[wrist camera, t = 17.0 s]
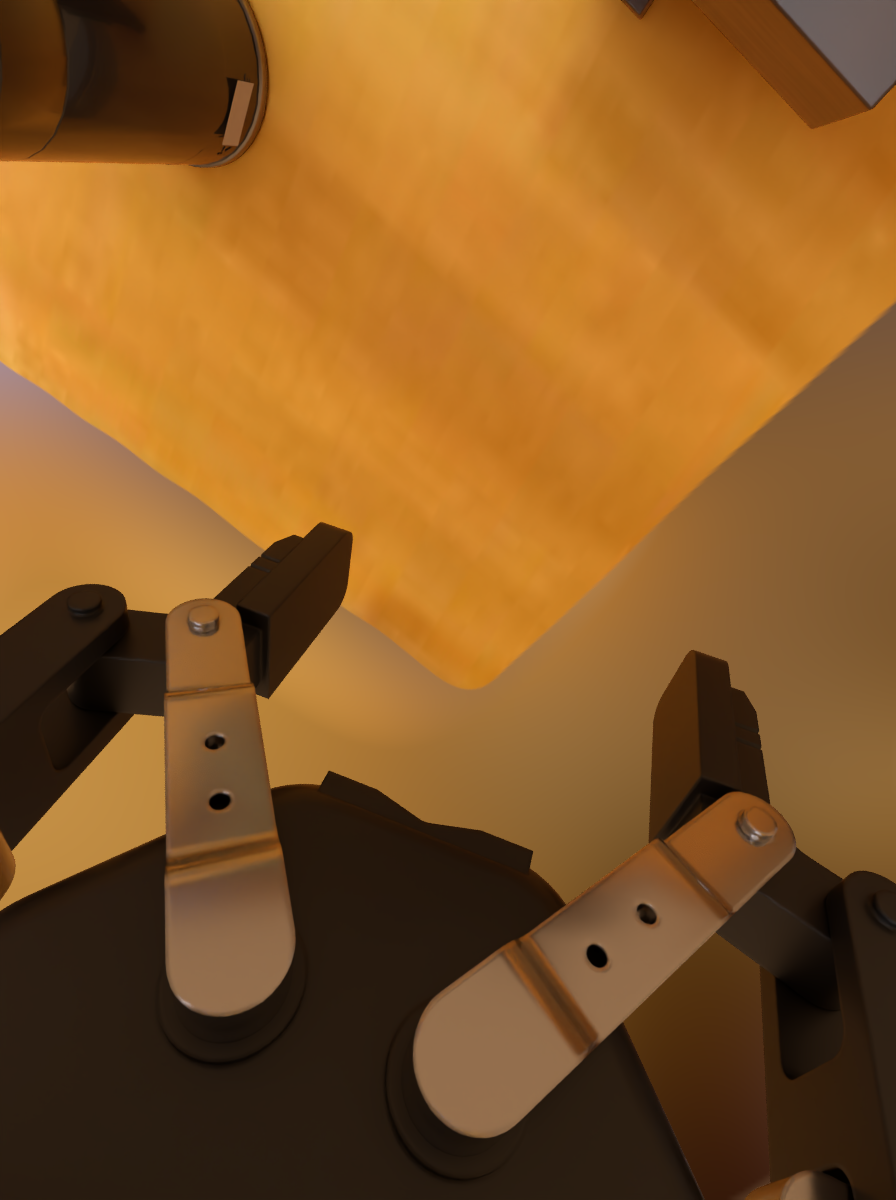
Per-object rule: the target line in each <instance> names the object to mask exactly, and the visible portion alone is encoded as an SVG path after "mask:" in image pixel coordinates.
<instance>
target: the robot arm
mask: <svg viewBox="0 0 896 1200" xmlns="http://www.w3.org/2000/svg"><path fill="white" fill-rule="evenodd" d="M266 99H267V65H266V57H265V51H264V46H263V42H262V38H261V34H260V31H259V28H258V25H257V22H256V19H255V17H254V14H253V12H252V10H251V8H250V5H249V3H248V1H247V0H0V161H33V162H79V163H126V164H166V165H190V166H194V167H220V166H223V165H227V164H229V163H231V162H233V161H234V160H236V159H237V158H239V157H240V156H241V155H242V154H243V153H244V152H245V151H246V150H247V149H248V148H249V146H250V145H251V143H252V142H253V140H254V138H255V137H256V135H257V133H258V130H259V128H260V125H261V122H262V119H263V115H264V111H265V106H266ZM352 542H353V536H352V533H351V532H349V531H346V530H343V529H340V528H337V527H335V526H332V525H329V524H326V523H323V522H320V523H319V524H317V525H316V526H315V527H314V528H313V529H312V530H311V531H310V532H309V533H308V534H307V535H306V536H305V537H304V538H302V537H299V536H296V535H292V536H290V537H287V538H284V539H282V540H279V541H277V542H274V543H273V544H272V545H271V546H270V547H269V548H268V549H267V550H266V551H265V552H264V553H263V554H262V555H261V557H258V558H257V559H256V560H255V561H254V562H253V563H252V564H251V566H250V567H247V568H246V569H245V570H244V571H243V572H242V573H241V574H240V575H239V576H238V577H236V578H235V579H234V580H233V581H232V582H231V583H230V584H229V585H228V586H227V587H226V588H224V589H223V590H222V591H221V592H220V593H219V594H218V595H217V596H216V597H215V598H214V599H207V598H205V599H195V600H190V601H187V602H184V603H182V604H180V605H178V606H177V607H175V608H174V609H173V610H172V611H171V612H170V613H169V614H163V613H153V612H145V611H135V610H127V604H126V600H125V597H124V596H123V594H122V593H121V592H119V591H118V590H116V589H114V588H112V587H109V586H105V585H99V584H85V585H79V586H74V587H70V588H67V589H64V590H62V591H60V592H58V593H57V594H55V595H54V596H52V597H51V598H49V599H48V600H47V601H45V602H44V603H43V604H42V605H40V606H39V607H38V608H36V609H35V610H33V611H32V612H31V613H29V614H28V615H27V616H26V617H24V618H23V619H22V620H20V621H19V622H18V623H16V624H15V625H14V626H12V627H11V628H10V629H8V630H7V631H6V632H4V633H3V634H2V635H0V900H1V898H2V897H3V896H4V894H5V893H6V891H7V890H8V888H9V886H10V885H11V882H12V880H13V877H14V874H15V867H16V865H15V859H14V856H13V854H12V852H11V851H12V850H13V849H14V848H15V847H16V846H17V845H18V843H19V842H20V841H21V840H22V839H23V838H24V837H25V836H26V834H27V833H28V832H29V831H30V830H31V829H32V828H33V826H34V825H35V824H36V823H37V822H38V821H39V820H40V819H41V818H42V817H43V815H44V814H45V813H46V812H47V811H48V810H49V809H50V808H51V807H52V805H53V804H54V803H55V802H56V801H57V800H58V799H59V798H60V797H61V795H62V794H63V793H64V792H65V791H66V790H67V789H68V788H69V787H70V785H71V784H72V783H73V782H74V781H75V780H76V779H77V778H78V776H79V775H80V774H81V773H82V772H83V771H84V770H85V769H86V767H87V766H88V765H89V764H90V763H91V762H92V761H93V760H94V759H95V757H96V756H97V755H98V754H99V753H100V752H101V751H102V750H103V749H104V747H105V746H106V745H107V744H108V743H109V742H110V741H111V739H113V737H114V736H115V735H116V734H117V733H118V732H119V731H120V730H121V729H122V727H123V726H124V725H125V724H126V723H127V722H128V721H129V720H130V718H131V717H132V716H133V715H134V714H142V715H152V716H164V735H165V736H164V738H165V800H166V801H165V804H166V834H165V835H162V836H160V837H158V838H156V839H153V840H151V841H149V842H147V843H145V844H142V845H140V846H138V847H136V848H133V849H131V850H129V851H127V852H125V853H122V854H120V855H118V856H115V857H113V858H111V859H109V860H107V861H104V862H102V863H100V864H97V865H95V866H93V867H91V868H89V869H86V870H84V871H82V872H80V873H77V874H75V875H73V876H71V877H69V878H66V879H64V880H62V881H60V882H57V883H55V884H53V885H50V886H48V887H46V888H44V889H42V890H39V891H37V892H35V893H33V894H31V895H28V896H26V897H24V898H22V899H20V900H19V901H16V902H14V903H13V904H11V905H9V906H7V907H6V908H4V909H3V910H1V911H0V1200H705V1199H704V1197H703V1195H702V1193H701V1190H700V1188H699V1186H698V1185H697V1182H696V1180H695V1178H694V1176H693V1173H692V1171H691V1169H690V1167H689V1164H688V1162H687V1160H686V1158H685V1156H684V1154H683V1152H682V1149H681V1147H680V1145H679V1143H678V1141H677V1138H676V1136H675V1134H674V1132H673V1130H672V1127H671V1125H670V1123H669V1121H668V1119H667V1117H666V1114H665V1112H664V1110H663V1108H662V1106H661V1104H660V1102H659V1099H658V1097H657V1095H656V1093H655V1091H654V1088H653V1086H652V1084H651V1082H650V1080H649V1078H648V1076H647V1073H646V1071H645V1069H644V1067H643V1064H642V1062H641V1060H640V1058H639V1056H638V1054H637V1051H636V1049H635V1047H634V1045H633V1043H632V1041H631V1039H630V1036H629V1034H628V1032H627V1030H626V1028H625V1025H624V1023H623V1021H624V1020H625V1019H626V1018H627V1017H628V1016H629V1015H630V1014H631V1013H632V1012H633V1011H634V1010H635V1009H636V1008H637V1007H638V1006H639V1005H640V1004H641V1003H642V1002H644V1000H645V999H647V998H648V997H649V996H650V995H651V994H652V993H653V992H654V991H655V990H656V989H657V988H658V987H659V986H660V985H661V984H662V983H663V982H664V981H665V980H666V979H667V978H668V977H669V976H670V975H672V974H673V973H674V972H675V971H676V970H677V969H678V968H679V967H680V966H681V965H682V964H683V963H684V962H685V961H686V960H687V959H688V958H689V957H690V956H691V955H692V954H693V953H694V952H695V951H696V950H697V949H698V948H699V947H701V946H702V944H704V943H705V942H706V941H707V940H708V939H709V938H710V937H711V936H712V935H713V934H714V933H715V932H716V933H717V934H718V935H720V936H721V937H723V938H724V939H725V940H726V941H728V942H729V943H731V944H732V945H733V946H735V947H736V948H737V949H739V950H740V951H741V952H743V953H744V954H746V955H747V956H748V957H749V958H751V959H752V960H754V961H755V962H756V963H758V964H759V965H760V981H761V1001H762V1022H763V1042H764V1063H765V1083H766V1103H767V1123H768V1142H769V1143H768V1144H769V1164H770V1183H769V1184H766V1185H764V1186H761V1187H758V1188H756V1189H755V1190H753V1191H752V1192H750V1193H749V1195H748V1196H747V1197H746V1198H745V1200H896V884H895V883H893V882H892V881H890V880H889V879H887V878H885V877H883V876H881V875H878V874H876V873H872V872H868V871H856V872H853V873H851V874H850V875H848V876H847V877H846V878H845V879H842V878H840V877H839V876H837V875H836V874H834V873H832V872H831V871H829V870H828V869H826V868H825V867H823V866H822V865H820V864H819V863H817V862H816V861H814V860H813V859H811V858H810V857H808V856H807V855H805V854H804V853H803V852H801V851H800V850H799V849H798V848H797V847H796V841H795V837H794V834H793V831H792V829H791V827H790V826H789V824H788V823H787V821H786V820H785V819H784V817H783V816H782V815H781V814H780V813H779V812H778V811H777V810H776V809H775V808H774V807H772V806H771V805H770V800H769V793H768V786H767V780H766V774H765V767H764V760H763V753H762V750H760V749H761V740H760V735H759V734H758V732H759V728H758V720H757V714H756V711H755V709H754V707H753V706H752V704H751V703H750V701H749V699H748V698H747V696H746V694H745V693H744V692H743V691H740V690H738V689H735V688H732V687H731V684H730V675H729V667H728V663H727V662H726V661H724V660H721V659H718V658H715V657H712V656H709V655H706V654H704V653H701V652H698V651H694V650H691V651H690V652H689V653H688V654H687V655H686V657H685V658H684V660H683V662H682V663H681V665H680V667H679V668H678V670H677V672H676V673H675V675H674V677H673V678H672V680H671V682H670V683H669V685H668V687H667V688H666V690H665V692H664V694H663V695H662V697H661V699H660V701H659V703H658V706H657V709H656V712H655V717H654V721H653V743H652V771H651V796H650V823H649V844H647V845H646V846H645V847H643V848H642V849H641V850H639V851H638V852H637V853H635V854H634V855H633V856H631V857H630V858H629V859H627V860H626V861H624V862H623V863H622V864H620V865H619V866H618V867H616V868H615V869H614V870H612V871H611V872H610V873H608V874H607V875H606V876H604V877H603V878H602V879H600V880H599V881H597V882H596V883H595V884H593V885H592V886H591V887H589V888H588V889H587V890H585V891H584V892H583V893H581V894H580V895H579V896H577V897H576V898H575V899H573V900H572V901H571V902H569V903H568V904H565V902H564V901H563V900H562V899H561V897H560V896H559V895H558V893H557V892H556V891H555V890H554V889H553V888H552V887H551V886H550V885H549V884H548V883H547V882H546V881H545V880H544V879H542V877H540V876H539V875H538V874H537V873H536V872H534V871H533V870H531V869H530V863H531V859H532V854H533V851H532V850H529V849H527V848H524V847H522V846H519V845H517V844H514V843H511V842H509V841H506V840H504V839H501V838H499V837H496V836H493V835H491V834H488V833H486V832H483V831H480V830H473V829H467V828H460V827H453V826H445V825H439V824H432V823H427V822H424V821H422V820H420V819H419V818H417V817H416V816H414V815H413V814H411V813H410V812H409V811H407V810H406V809H404V808H403V807H401V806H400V805H399V804H397V803H396V802H394V801H393V800H391V799H390V798H389V797H387V796H386V795H384V794H383V793H382V792H380V791H378V790H377V789H374V788H372V787H369V786H367V785H364V784H362V783H359V782H357V781H354V780H352V779H349V778H347V777H344V776H341V775H339V774H336V773H334V772H331V771H328V773H327V775H326V777H325V778H324V780H323V782H322V784H321V785H314V784H295V785H285V786H280V787H275V788H272V789H270V783H269V777H268V770H267V763H266V758H265V751H264V745H263V739H262V732H261V725H260V719H259V712H258V707H257V699H256V694H257V695H260V696H262V697H265V698H268V699H269V697H270V696H271V695H272V694H273V692H274V691H275V690H276V688H277V687H278V686H279V685H280V683H281V682H282V681H283V679H284V678H285V677H286V675H287V674H288V673H289V672H290V670H291V669H292V668H293V666H294V665H295V664H296V663H297V661H298V660H299V659H300V657H301V656H302V655H303V654H304V652H305V651H306V650H307V648H308V647H309V646H310V645H311V643H312V642H313V641H314V639H315V638H316V637H317V636H318V634H319V633H320V632H321V630H322V629H323V628H324V626H325V625H326V624H327V623H328V621H329V620H330V619H331V617H332V616H333V615H334V614H335V612H336V611H337V610H338V608H339V607H340V605H341V603H342V601H343V599H344V596H345V593H346V589H347V585H348V576H349V568H350V559H351V550H352Z"/></svg>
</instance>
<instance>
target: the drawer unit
mask: <svg viewBox="0 0 896 1200" xmlns="http://www.w3.org/2000/svg"><path fill="white" fill-rule="evenodd" d="M621 1H622V2H623V3H624V4H625V5H626V6H627V7H628V8H629V9H630V10H631V11H632V12H633V13H634V14H635V15H636V16H637V17H638V18H639V19H641V18H642V17H643V15H644V14H645V12H646V11H647V9H648V8H649V6H650V5H651V3H652V2H653V0H621ZM692 1H693V2H694V3H695V4H696V5H697V7H698V8H699V9H700V10H701V11H702V12H703V13H704V14H705V15H706V16H707V17H708V18H709V19H710V21H711V22H712V23H713V24H714V25H715V26H716V27H717V28H718V29H719V30H720V31H721V32H722V34H723V35H724V36H725V37H726V38H727V39H728V40H729V41H730V42H731V43H732V44H733V45H734V46H735V48H736V49H737V50H738V51H739V52H740V53H741V54H742V55H743V56H744V57H745V58H746V59H747V60H748V62H749V63H750V64H751V65H752V66H753V67H754V68H755V69H756V70H757V71H758V72H759V73H760V74H761V76H762V77H763V78H764V79H765V80H766V81H767V82H768V83H769V84H770V85H771V86H772V87H773V89H774V90H775V91H776V92H777V93H778V94H779V95H780V96H781V97H782V98H783V99H784V100H785V101H786V103H787V104H788V105H789V106H790V107H791V108H792V109H793V110H794V111H795V112H796V113H797V114H798V115H799V117H800V118H801V119H802V120H803V121H804V122H805V123H806V124H807V125H808V126H809V127H810V128H811V129H815V128H818V127H821V126H824V125H827V124H830V123H833V122H836V121H839V120H842V119H845V118H848V117H851V116H854V115H857V114H860V113H863V112H866V111H869V110H871V109H873V108H874V107H875V106H876V105H877V104H878V103H879V102H880V101H881V99H882V98H883V97H884V96H885V95H886V94H887V93H888V92H889V91H890V90H891V89H892V88H893V87H894V86H895V85H896V0H692Z"/></svg>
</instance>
